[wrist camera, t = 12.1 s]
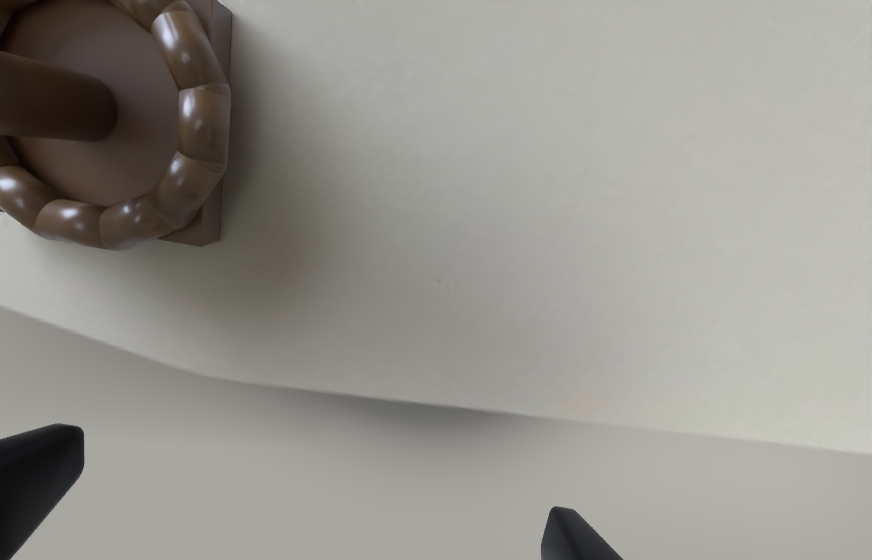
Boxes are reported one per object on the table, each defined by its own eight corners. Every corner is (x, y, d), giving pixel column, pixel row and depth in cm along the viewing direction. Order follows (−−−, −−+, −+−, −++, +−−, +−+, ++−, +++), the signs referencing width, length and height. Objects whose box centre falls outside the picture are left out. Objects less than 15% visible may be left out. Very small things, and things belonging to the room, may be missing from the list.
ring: (229, 263, 18) (208, 272, 16) (-28, 219, 17) (-74, 224, 16) (246, -21, 15) (223, -43, 13) (-53, -78, 15) (-112, -107, 13)
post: (220, 241, 19) (46, 296, 11) (10, 204, 19) (-336, 231, 10) (232, 11, 17) (25, -145, 8) (-6, -34, 16) (-460, -240, 8)
